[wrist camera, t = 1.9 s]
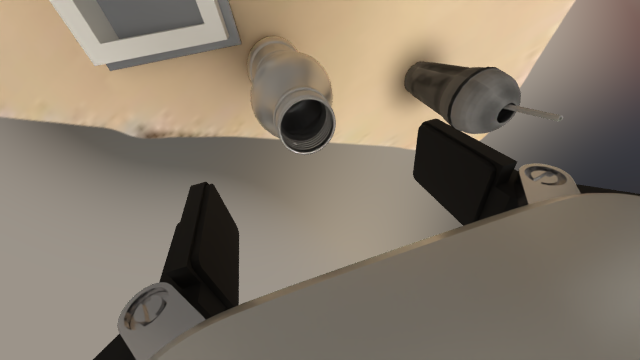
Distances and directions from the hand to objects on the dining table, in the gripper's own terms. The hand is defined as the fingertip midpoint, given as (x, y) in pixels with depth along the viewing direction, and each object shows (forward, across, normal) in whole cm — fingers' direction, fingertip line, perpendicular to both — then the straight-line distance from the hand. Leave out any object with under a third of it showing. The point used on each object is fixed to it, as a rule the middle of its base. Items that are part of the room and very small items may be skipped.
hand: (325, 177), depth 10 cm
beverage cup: (+25, -22, +5) cm, 33 cm away
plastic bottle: (+25, 0, -1) cm, 25 cm away
